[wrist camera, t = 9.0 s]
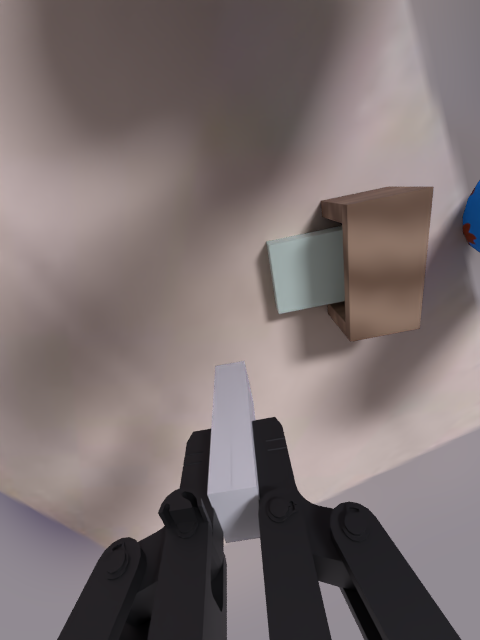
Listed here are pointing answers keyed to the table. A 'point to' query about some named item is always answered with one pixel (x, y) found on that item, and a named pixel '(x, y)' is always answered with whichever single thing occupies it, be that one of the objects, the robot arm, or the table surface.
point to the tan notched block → (381, 259)
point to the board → (307, 269)
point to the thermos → (472, 219)
